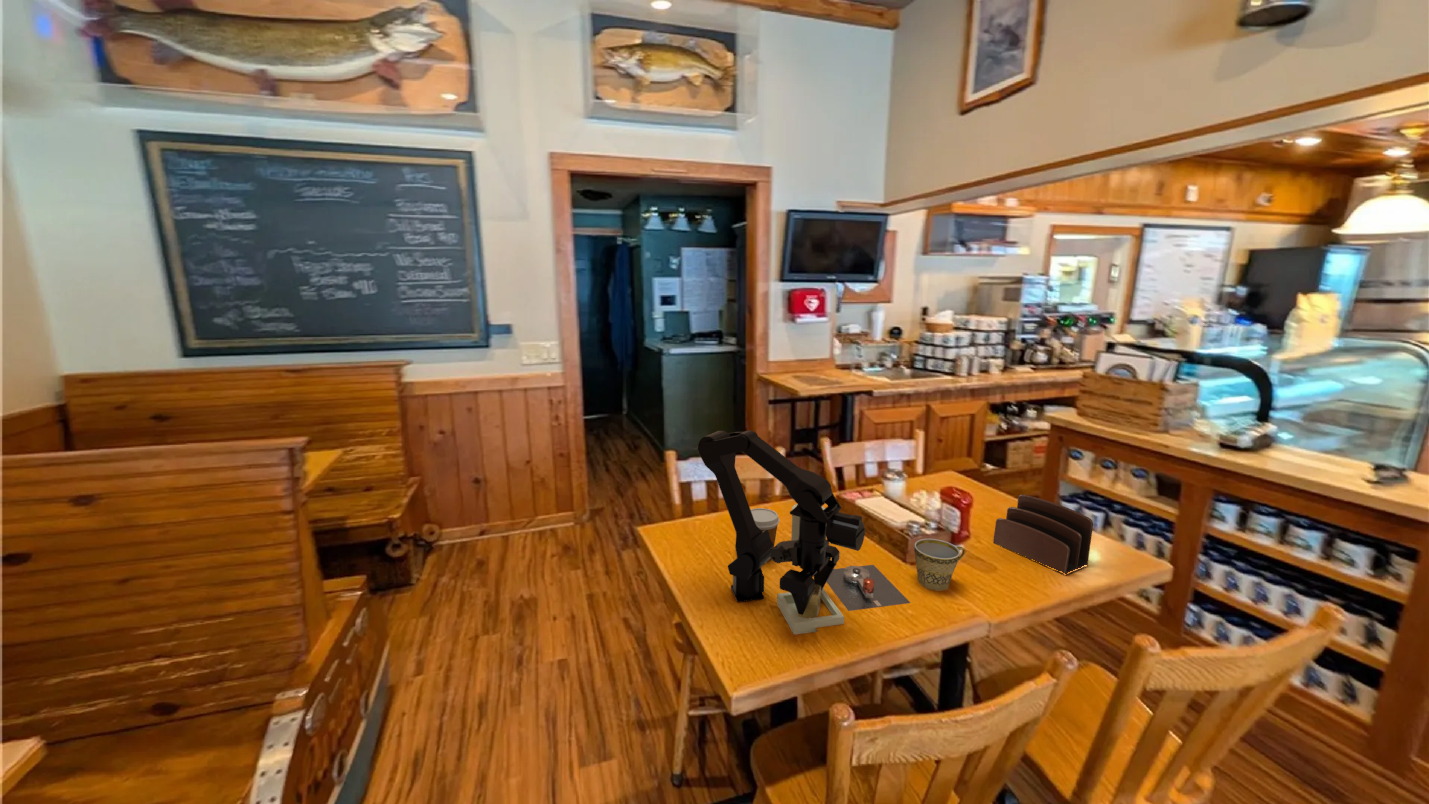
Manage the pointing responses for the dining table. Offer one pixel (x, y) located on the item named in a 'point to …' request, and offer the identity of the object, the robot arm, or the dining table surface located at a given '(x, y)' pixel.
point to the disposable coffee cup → (766, 521)
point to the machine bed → (854, 596)
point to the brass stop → (813, 604)
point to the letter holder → (1046, 533)
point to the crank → (860, 579)
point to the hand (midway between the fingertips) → (809, 603)
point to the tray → (805, 624)
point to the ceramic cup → (936, 562)
